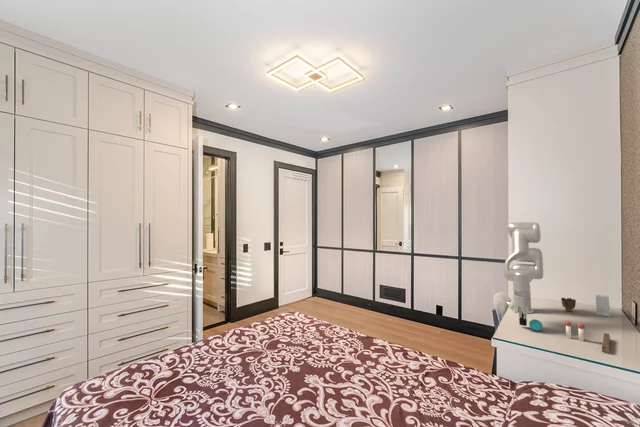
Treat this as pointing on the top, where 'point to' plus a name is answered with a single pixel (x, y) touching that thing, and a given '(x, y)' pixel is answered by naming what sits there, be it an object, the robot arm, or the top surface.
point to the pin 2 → (581, 331)
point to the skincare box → (602, 305)
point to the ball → (535, 325)
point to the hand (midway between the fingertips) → (523, 324)
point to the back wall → (605, 343)
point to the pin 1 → (568, 329)
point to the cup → (568, 304)
